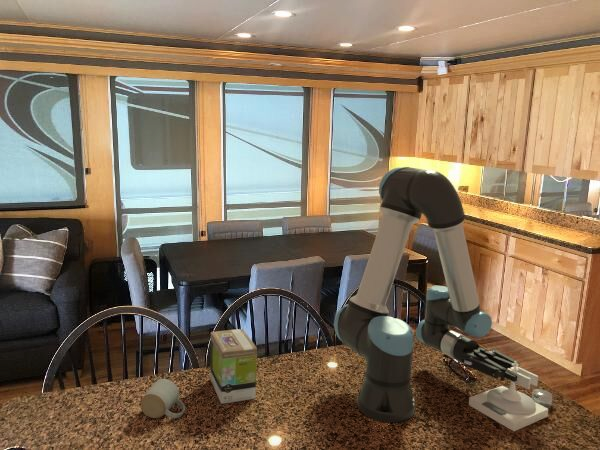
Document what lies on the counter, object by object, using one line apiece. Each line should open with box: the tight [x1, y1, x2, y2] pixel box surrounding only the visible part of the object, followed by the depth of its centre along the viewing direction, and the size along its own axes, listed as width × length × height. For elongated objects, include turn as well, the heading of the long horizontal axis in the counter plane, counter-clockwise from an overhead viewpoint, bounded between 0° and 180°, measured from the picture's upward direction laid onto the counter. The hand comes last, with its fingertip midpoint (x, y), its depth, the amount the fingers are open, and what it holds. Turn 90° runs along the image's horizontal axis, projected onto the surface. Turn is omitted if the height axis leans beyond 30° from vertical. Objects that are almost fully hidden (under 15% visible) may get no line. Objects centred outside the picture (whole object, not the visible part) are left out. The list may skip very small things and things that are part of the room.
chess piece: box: [502, 360, 522, 401], centre depth 133 cm, size 5×5×10 cm
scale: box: [468, 385, 549, 432], centre depth 134 cm, size 14×14×3 cm
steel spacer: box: [531, 388, 553, 409], centre depth 138 cm, size 5×5×3 cm
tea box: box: [209, 328, 258, 404], centre depth 139 cm, size 15×10×15 cm
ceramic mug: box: [140, 378, 186, 419], centre depth 126 cm, size 10×8×7 cm
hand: (533, 382), depth 128 cm, fingers open, 2 cm apart
